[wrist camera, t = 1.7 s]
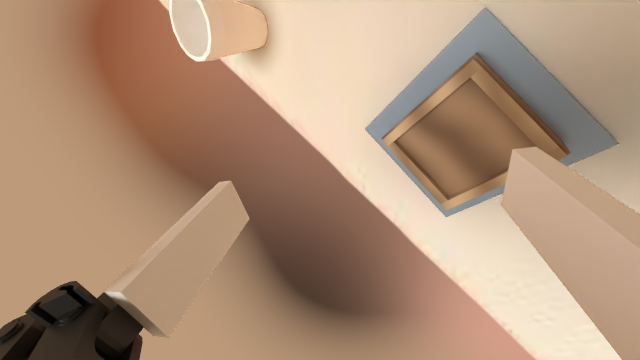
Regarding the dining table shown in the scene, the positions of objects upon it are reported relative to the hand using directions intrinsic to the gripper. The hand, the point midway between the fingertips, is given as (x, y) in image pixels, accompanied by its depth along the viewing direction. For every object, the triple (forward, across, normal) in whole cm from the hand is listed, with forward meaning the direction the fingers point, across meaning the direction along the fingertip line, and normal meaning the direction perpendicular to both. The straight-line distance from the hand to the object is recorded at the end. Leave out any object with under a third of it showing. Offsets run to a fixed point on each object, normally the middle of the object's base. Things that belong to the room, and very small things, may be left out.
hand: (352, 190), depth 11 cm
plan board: (+24, +13, -8) cm, 28 cm away
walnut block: (+23, +12, -8) cm, 27 cm away
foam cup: (+39, -19, +13) cm, 45 cm away
